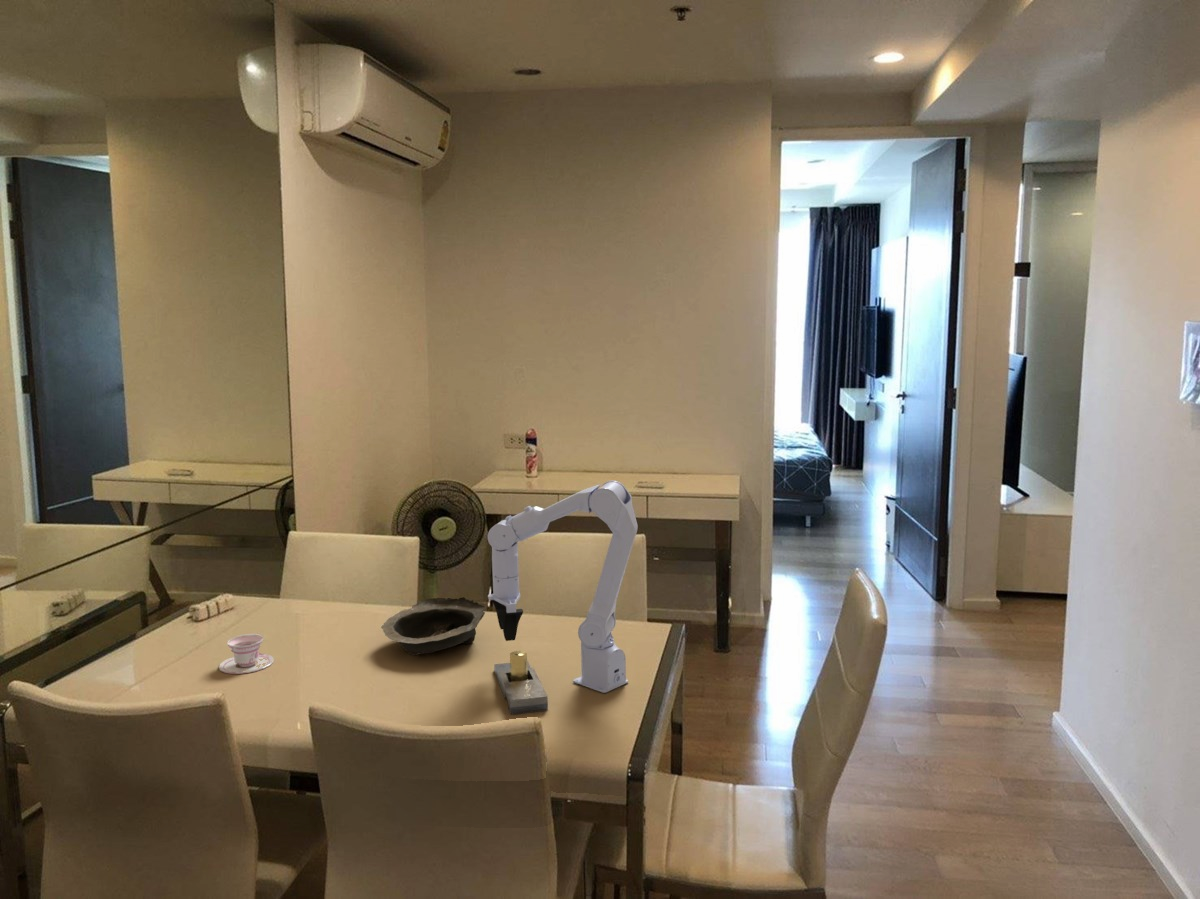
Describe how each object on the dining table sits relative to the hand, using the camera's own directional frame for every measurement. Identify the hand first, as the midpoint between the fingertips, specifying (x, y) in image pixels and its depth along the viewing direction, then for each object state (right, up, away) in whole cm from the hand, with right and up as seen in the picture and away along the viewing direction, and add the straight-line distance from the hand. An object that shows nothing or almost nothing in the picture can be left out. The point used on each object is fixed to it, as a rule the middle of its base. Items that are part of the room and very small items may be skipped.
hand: (507, 634), depth 205 cm
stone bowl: (-20, -7, +20) cm, 29 cm away
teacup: (-62, -9, +10) cm, 63 cm away
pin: (+3, -11, -7) cm, 13 cm away
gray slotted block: (+3, -11, -7) cm, 13 cm away
